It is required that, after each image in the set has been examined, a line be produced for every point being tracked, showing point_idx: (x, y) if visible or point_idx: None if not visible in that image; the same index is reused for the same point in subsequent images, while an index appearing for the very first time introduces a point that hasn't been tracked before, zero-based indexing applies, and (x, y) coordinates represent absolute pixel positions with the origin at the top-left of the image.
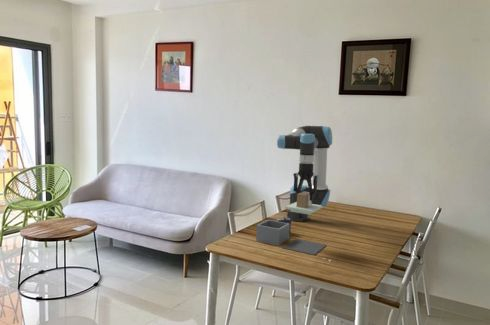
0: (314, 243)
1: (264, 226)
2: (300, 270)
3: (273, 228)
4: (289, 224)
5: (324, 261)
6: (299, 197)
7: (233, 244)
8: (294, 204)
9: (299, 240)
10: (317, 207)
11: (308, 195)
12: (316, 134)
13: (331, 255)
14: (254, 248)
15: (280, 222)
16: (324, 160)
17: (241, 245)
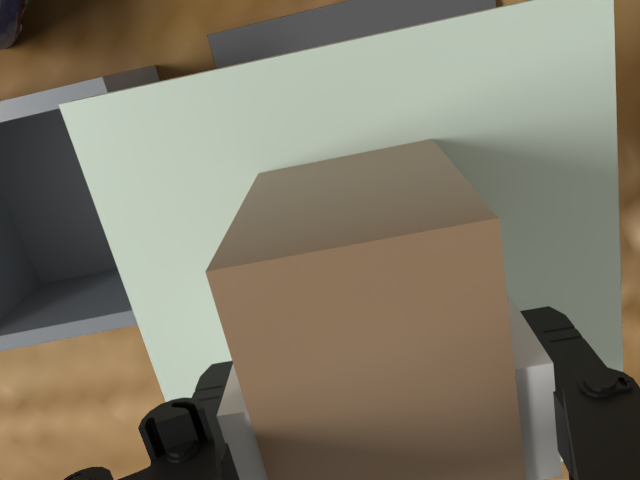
0: (395, 19)
1: (38, 338)
2: (562, 471)
3: (130, 325)
4: (107, 80)
5: (621, 278)
6: None
7: (23, 440)
8: (196, 328)
9: (257, 54)
10: (603, 214)
11: (527, 466)
12: None
13: (619, 145)
14: (157, 405)
15: (12, 119)
16: None
17: (65, 420)
